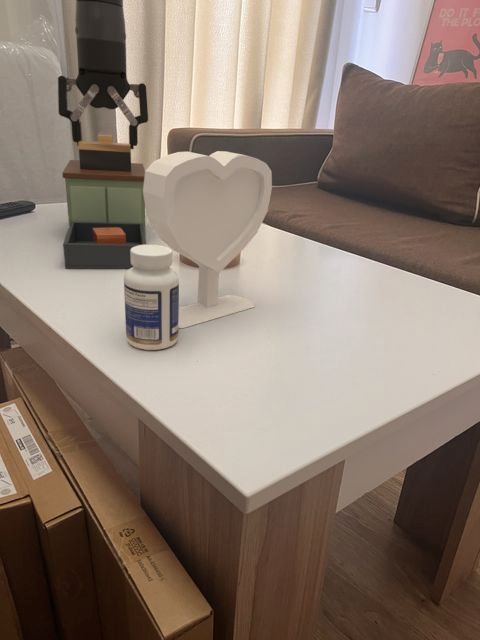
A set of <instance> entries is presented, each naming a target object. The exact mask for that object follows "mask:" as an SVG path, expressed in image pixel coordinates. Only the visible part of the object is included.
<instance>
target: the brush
mask: <svg viewBox="0 0 480 640" xmlns="http://www.w3.org/2000/svg"><path fill="white" fill-rule="evenodd" d="M78 145H79V146H78V157H79V159H78V160H80V169H90V170H110V171H130V172H131V163H132V149H131V145H130V144H129V143H123V142H113V132H107V131H106V132H104V131H99V132H98V134H97V141H93V140H82V141H79V143H78Z"/></svg>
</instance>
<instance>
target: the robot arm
mask: <svg viewBox="0 0 480 640" xmlns="http://www.w3.org/2000/svg"><path fill="white" fill-rule="evenodd" d="M124 11H125V10H124V0H75V18H74V20H75V28H74V31H75V37H76V54H77V55H76V56H77V71H78V73H77V77H76V78H73V77H69V76H68V77H67V76H65V75H59V76H58V77H57V97H58V98H57V99H58V101H57V102H58V103H57V104H58V115H59V116H61V117H62V118H63V117H64V118H66V119H67V120H69V121H70V123H71V137H72V141H73V143H76V146H77V147H79V145H78V143H79V141H83V134H82V132H83V131H82V121H80V119H81V116H82V115H84V112H85V111H86V110H87V109H88V107H89V106H91V107H92V108H94V109H103V108H105V109H107V110H115V109H117V108H118V109H119V110H120V111H121V113H122V115H124V116H125V118H126V120H127V121H128V122H129V124H128V144H130V145H131V150H134V149H135V148H134V147H137V146H138V143H139V142H138V135H139V133H138V127H139V125H141V124H146V123H147V122H148V121H149V110H148V95H147V85H146V84H145V83H142V82H140V83H130V82H129V81H128V77H127V75H128V74H127V33H126V31H127V29H126V19H125V12H124ZM74 86H76V88H77V89H78V90H79V92H80V93H81V95H82V96H83V98H81V100H80V102H79V103H78V104H77V106H76V107H75V109H74V110H70V109H68V106H69V105H68V102H69V101H68V99H69V97H68V92H69V93H70V92H72V91H73V87H74ZM130 91H132V93H133V96H134V97H135V98H136V99H138V102H139V103H138V104H139V115H134V114H133V113H132V111H131V109H130V107H128V105H127V104H126V102H125V101H124V100H125V99H126V97H127V95H128V94H129V92H130Z"/></svg>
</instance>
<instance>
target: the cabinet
mask: <svg viewBox="0 0 480 640" xmlns="http://www.w3.org/2000/svg"><path fill="white" fill-rule="evenodd" d="M145 171H146V169H145V166H144V164H143V163H140V162H139V163H138V162H136V163H135V162H131V172H130V171H110V170H90V169H80V159H70V160H69V161H68V162H67V164H66V166H65V168H64V169H63V171H62V178H63V179H64V181H65V182H64V183H65V195H66V204H67V205H66V208H67V218H68V220H67V221H68V226H69V225H70V222H71V221H72V222H110V223H143V226H144V232H145V237H146V238H147V236H146V235H147V233H146V208H145V202H144V195H143V187H144V178H145Z"/></svg>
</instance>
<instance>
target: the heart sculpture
mask: <svg viewBox="0 0 480 640" xmlns="http://www.w3.org/2000/svg"><path fill="white" fill-rule="evenodd" d="M272 172H273V171H272V170H271V168H270V167H269V165H268V164H267V163H266V162H265V161H263V160H261V159H259V158H257V157H253V156H250V155H246V154H240V153H235V152H231V151H226V150H225V151H222V150H221V151H220V150H217V151H215V152H213V153H211V154H210V155H206V154H202V153H196V152H193V151H177V152H174V153H170V154H166V155H164V156H162V157H160V158H158V159H156V160H153V162H152V163H151V164H150V165H149V166H148V167H147V168H146V169H145V178H144V187H143V195H144V202H145V216H146V218H147V220H148V221H149V223H150V225H151V226H152V229H153V230H154V232H155V234H156V235H157V237H158V239H159V240H161V242H163V243H164V244H165V245H167V247H168V248H170V249H171V250H172V251H174V252H176V253H177V254H179V255H181V256H183V257H184V258H187V260H190V261H192V262H193V263H195V264H196V265H198V282H197V283H198V284H197V285H198V286H197V287H198V288H197V302H196V303H192V304H188V305H184V306H180V307H179V329H185V328H188V327H192V326H195V325H198V324H201V323H205V322H209V321H212V320H215V319H219V318H222V317H226V316H229V315H232V314H236V313H239V312H243V311H245V310H249V309H252V308H256V305H255V304H254V303H253V302H252V301H251V300H250V299H248V298H245V297H243V296H237V295H232V294H226V295H223V296H219V279H220V274H221V272H223V271H224V269H225V268H226V267H227V266H228V265H229V264H230V263H231V262H232V261H233V260H234V259H235V258H236V257H237V256H239V254H241V253H242V251H244V250H245V248H247V246H248V244H250V242H251V241H252V240H253V238H254V237H255V236H256V235H257V233H258V232H259V230H260V228H261V225H262V223H263V222H264V220H265V218H266V215H267V213H268V212H269V205H270V202H271V201H270V200H271V196H272V191H273V182H272V181H273V178H272V177H273V176H272V174H273V173H272Z"/></svg>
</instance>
